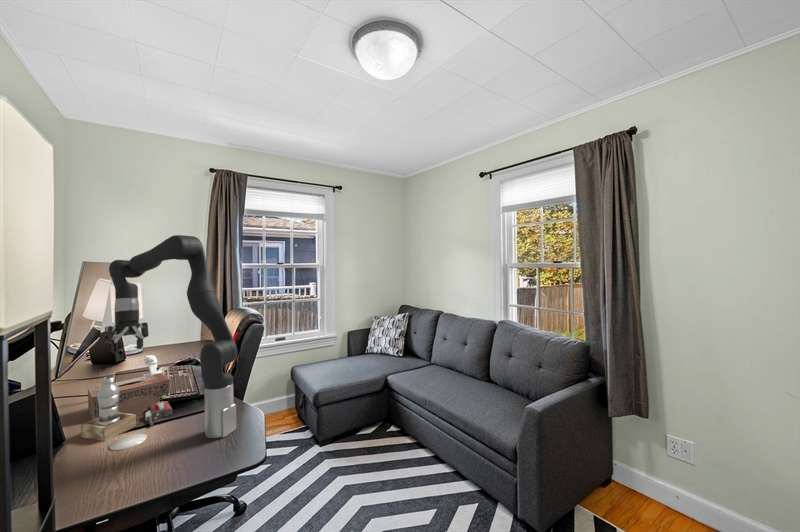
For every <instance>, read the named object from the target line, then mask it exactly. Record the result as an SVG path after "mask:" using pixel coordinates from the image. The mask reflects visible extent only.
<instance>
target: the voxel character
mask: <svg viewBox="0 0 800 532" xmlns="http://www.w3.org/2000/svg"><path fill="white" fill-rule="evenodd" d="M144 364H145V365H147V367H148V371H149V372H147V373H144V374H143V375H142V377H143V376H148V375H152V374H157V373H162V374H163V372H162V369H161V370H157V368H158V360H157V356H155V355H154V354H153V355H152V354H149V355H146V356H145V358H144Z"/></svg>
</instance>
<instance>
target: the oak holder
mask: <svg viewBox="0 0 800 532" xmlns="http://www.w3.org/2000/svg"><path fill="white" fill-rule="evenodd" d="M119 416H120V421H118V422H115V423H113V424H111V425H109V426H106V427H103V426H98V421H99V417H98V418H96V419H93V420H89V421H86V422H84V423H81V424H80V437H81V438H85V439H92V440H97V441H103V442H106V441H108V440H110V439H112V438H114V437H117V436H119V435H121V434H123V433H126V432H128V431H129V430H132V429H134V428H135V426H136V427H137V414H134V413H129V412H127V413H120V412H119ZM133 427H134V428H133Z"/></svg>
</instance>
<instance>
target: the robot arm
mask: <svg viewBox="0 0 800 532" xmlns="http://www.w3.org/2000/svg"><path fill="white" fill-rule="evenodd" d="M203 245H204V244H203V243H202V241H201V240H200V238H199V237H197V236H193V235H183V234H182V235H181V234H177V235H176V234H175V235H172V236H170V237H168V238H166V239H164V240H163V241H161V242H160V243H158V244H157V245H156V246H154V247H153V248H151V249H148V250H146V251H144V252H142V253H138V254H136V255H135V256H132V257H131V258H130V259H129V260H127V259H126V260H125V259H114V260H113V261H112V262H111V263H110V264H109V267H108V273H109V276H110V278H111V281H112V283H113V287H114V290H115V291H114V297H115V299H114V309H113V310H114V323H115V324H114V326H113V325H112V326H111V325H109V326H105V327H104V337H103V338H104V343H109V344H110V352H111V353H112V354H118V353H119V344H118V342H119V340H120V339H121V338H122V337H123V336H124V337H125V336H126V337H127V336H133V337H134V338H135V339H136V349H137V350H141V349H142V348H143V347H144V340H145V338H148V337H149V326H148V325H149V324H148V322H141V323H140V322H139V321H140V303H139V302H140V301H139V287H138V285H137V284H136V283H131V282H129V281H128V279H129V278H131V279H133V278H134V279H135V278H139V277H141V276H143V275H144V274H145V273H146V272H148V271H151V270H154V269H156V268H158V267H159V266H160V265H161V264H162V263H163V261H168V260H169V261H170V260H176V261H177V260H178V261H180V260H181V261H185V260H186V261H187V262H188V265H189V267H190V271H191V276H190V280H189V281H188V282H189V283H188V285H187V286H188V287H187V290H186V297H187V300H188V304H189V308H190V310H191V312H192V313H193V315H194V316H195V317H196V318H197V319H198V320H199V321H201V323H203V324H204V325H205V326H206V327H207V328H208V329H209V331H210V333H211V335H212V337H213V340H214V341H212V342H209V343H207V344H204V345H203V346H202V348H201V351H200V353H199V354H200V357H199V359H200V370H201V371H200V373H201V380H202V382H203V385H204V386H203V388H204V432H205V433H204V435H205V437H206V438H208V439H219V438H225V437H227V436H228V435H229V434H231V433H233V432H235V431H236V430H237V404H236V403H234V402H235V401H234V376H233V374H231V373H226V372H224V370H223V369H224V367H223V366H226V365H228V364H231V363H233V362H234V361H235V360H237V357H238V346H237V344H236V341H235V339H234V337H233V335H232V332H231V331H230V327H228V323H227V321H226V319H225V316H224V312H223V311H222V308H221V305H220V302H219V298H218V296H217V292H216V289H215V287H214V284H213V281H212V277H211V275H210V270H209V267H208V262H207V259H206V258H207V257H206V253H205V250H204V246H203ZM139 329H140V330H139ZM114 331H115V333H114V334H113V332H114Z"/></svg>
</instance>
